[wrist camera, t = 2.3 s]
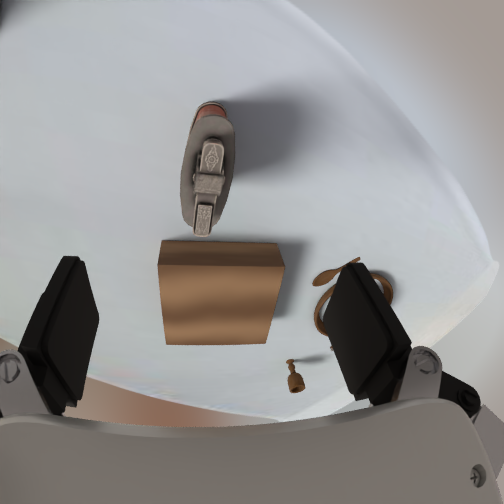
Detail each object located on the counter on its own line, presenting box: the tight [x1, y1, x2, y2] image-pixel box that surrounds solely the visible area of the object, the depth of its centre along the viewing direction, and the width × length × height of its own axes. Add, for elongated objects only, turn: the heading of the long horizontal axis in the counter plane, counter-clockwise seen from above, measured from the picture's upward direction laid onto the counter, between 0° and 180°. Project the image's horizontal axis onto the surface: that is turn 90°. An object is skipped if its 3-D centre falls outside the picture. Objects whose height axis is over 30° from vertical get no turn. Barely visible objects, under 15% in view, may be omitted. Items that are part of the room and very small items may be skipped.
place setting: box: [286, 257, 393, 393], centre depth 39 cm, size 18×20×6 cm
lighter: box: [180, 102, 235, 237], centre depth 21 cm, size 8×3×10 cm, turn 169°
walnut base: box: [158, 241, 285, 345], centre depth 33 cm, size 12×12×4 cm
